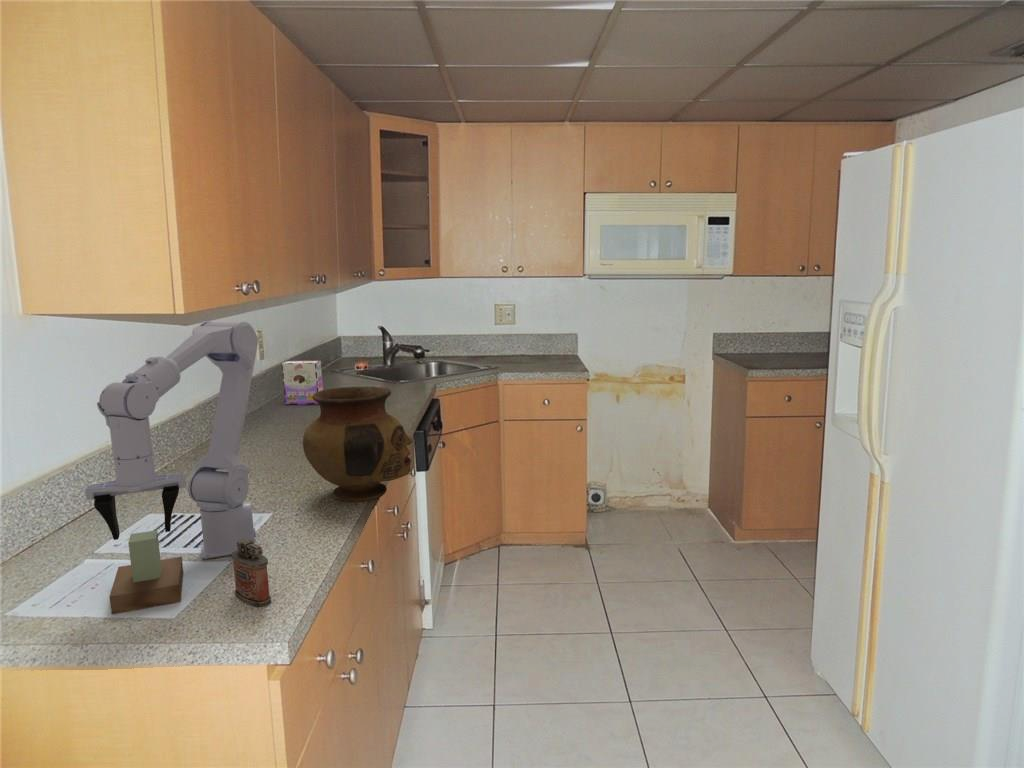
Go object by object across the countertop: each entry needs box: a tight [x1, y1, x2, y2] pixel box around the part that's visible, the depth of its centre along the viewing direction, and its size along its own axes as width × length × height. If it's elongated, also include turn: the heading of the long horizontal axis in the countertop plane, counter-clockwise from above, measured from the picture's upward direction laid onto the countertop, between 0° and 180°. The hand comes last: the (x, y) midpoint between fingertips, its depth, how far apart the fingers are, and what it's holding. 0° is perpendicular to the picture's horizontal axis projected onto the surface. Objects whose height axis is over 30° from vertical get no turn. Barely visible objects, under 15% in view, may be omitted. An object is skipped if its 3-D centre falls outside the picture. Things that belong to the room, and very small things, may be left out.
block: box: [127, 529, 162, 583], centre depth 118 cm, size 4×4×7 cm
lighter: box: [230, 539, 272, 609], centre depth 116 cm, size 8×3×10 cm, turn 52°
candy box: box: [281, 360, 324, 405], centre depth 272 cm, size 14×6×16 cm, turn 84°
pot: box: [302, 386, 414, 503], centre depth 166 cm, size 25×24×25 cm
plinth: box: [108, 556, 184, 615], centre depth 119 cm, size 10×12×3 cm
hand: (142, 533), depth 118 cm, fingers open, 7 cm apart
